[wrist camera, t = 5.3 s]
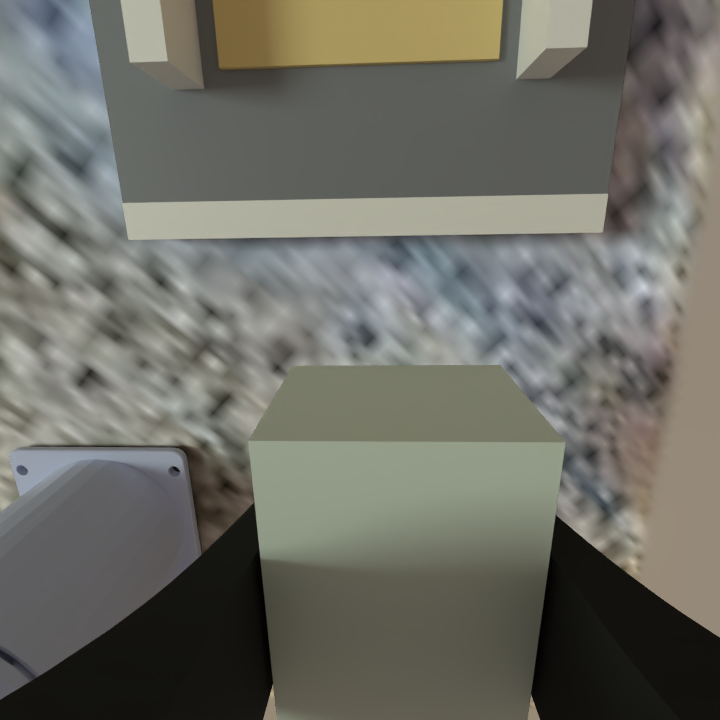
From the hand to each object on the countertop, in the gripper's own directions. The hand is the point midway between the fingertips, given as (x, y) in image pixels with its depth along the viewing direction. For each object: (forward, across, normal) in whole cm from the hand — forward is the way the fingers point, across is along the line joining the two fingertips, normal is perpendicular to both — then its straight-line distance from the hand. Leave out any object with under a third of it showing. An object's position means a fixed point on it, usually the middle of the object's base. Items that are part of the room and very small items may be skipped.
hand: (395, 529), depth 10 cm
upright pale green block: (+2, 0, 0) cm, 2 cm away
